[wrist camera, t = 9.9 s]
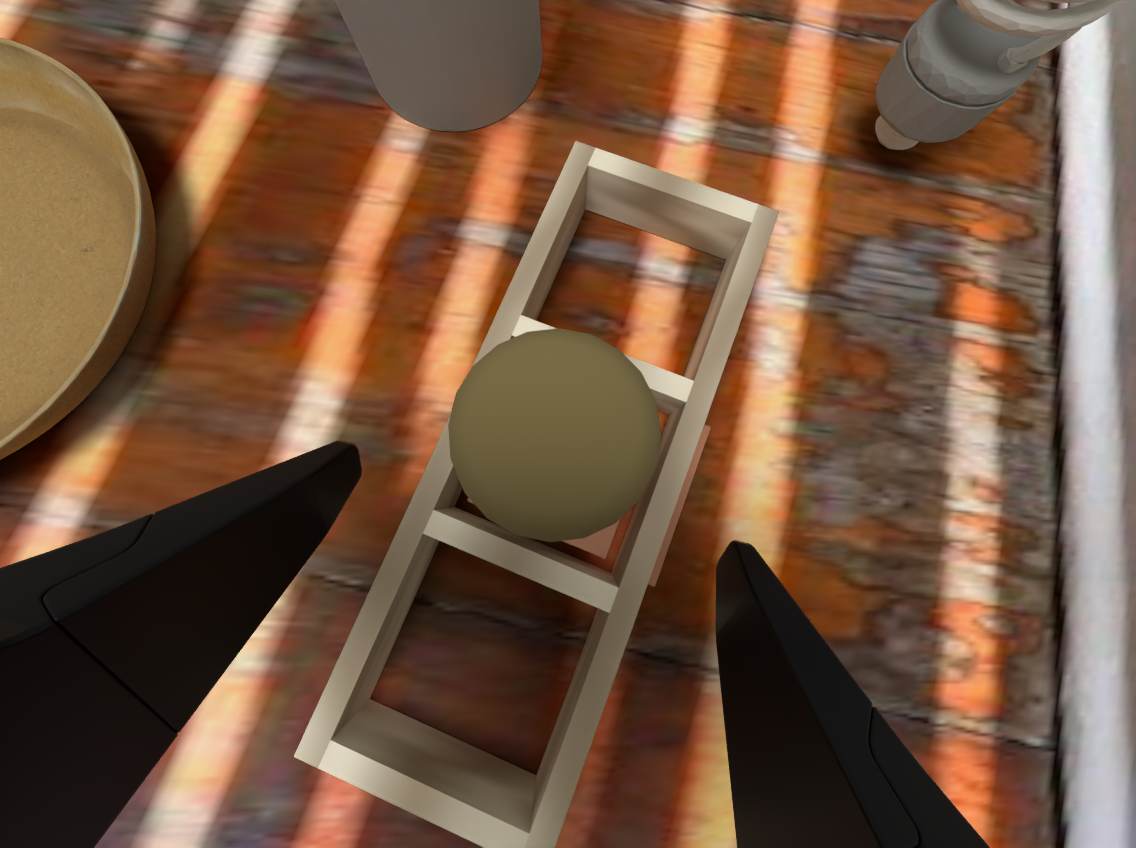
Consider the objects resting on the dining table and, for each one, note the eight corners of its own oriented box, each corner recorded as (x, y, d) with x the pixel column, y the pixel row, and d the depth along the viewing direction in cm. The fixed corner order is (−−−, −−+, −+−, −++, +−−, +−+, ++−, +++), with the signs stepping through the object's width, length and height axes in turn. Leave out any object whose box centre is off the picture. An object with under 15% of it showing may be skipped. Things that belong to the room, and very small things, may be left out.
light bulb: (814, 127, 23) (1084, -275, 11) (894, 84, 23) (1240, -347, 11) (876, 205, 22) (1242, -136, 10) (958, 159, 22) (1402, -219, 10)
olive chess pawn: (649, 479, 19) (756, 461, 8) (542, 552, 19) (508, 637, 8) (578, 376, 20) (591, 239, 9) (474, 443, 19) (355, 383, 9)
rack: (757, 252, 21) (787, 214, 18) (557, 814, 17) (555, 881, 14) (574, 188, 22) (575, 141, 19) (339, 712, 18) (293, 756, 15)
